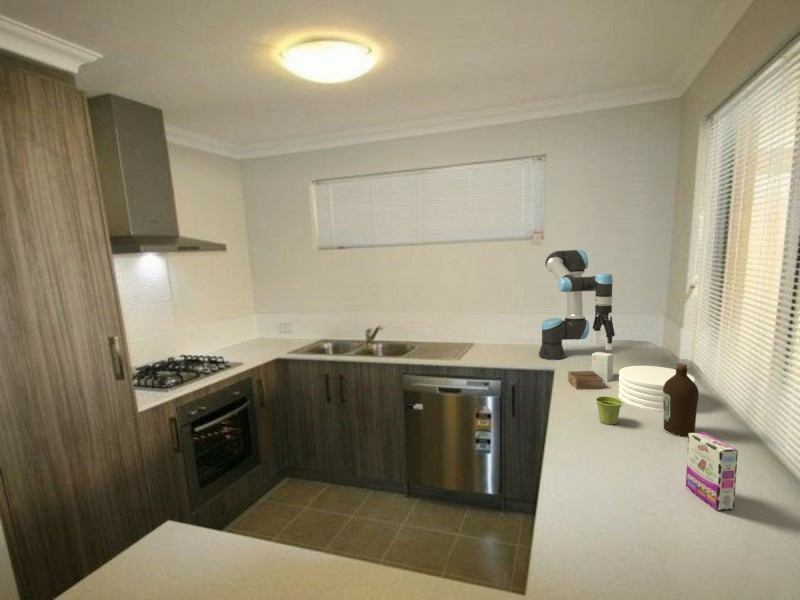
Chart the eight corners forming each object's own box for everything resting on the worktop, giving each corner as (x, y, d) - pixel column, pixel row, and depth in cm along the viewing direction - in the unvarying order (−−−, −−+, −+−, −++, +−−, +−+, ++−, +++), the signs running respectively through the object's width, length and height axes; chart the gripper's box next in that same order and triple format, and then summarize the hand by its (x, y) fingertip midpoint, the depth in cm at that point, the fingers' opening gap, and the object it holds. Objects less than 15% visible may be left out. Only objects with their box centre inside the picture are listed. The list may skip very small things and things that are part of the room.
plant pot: (619, 418, 165) (620, 397, 164) (624, 428, 157) (624, 406, 156) (594, 416, 169) (594, 395, 167) (596, 425, 160) (597, 403, 159)
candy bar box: (735, 510, 108) (739, 449, 106) (717, 511, 107) (721, 451, 105) (701, 485, 119) (704, 430, 117) (684, 487, 118) (687, 432, 116)
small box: (613, 379, 212) (613, 354, 210) (607, 381, 208) (607, 356, 206) (597, 375, 218) (597, 351, 216) (591, 378, 214) (591, 353, 212)
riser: (567, 381, 211) (567, 371, 211) (592, 380, 211) (592, 371, 210) (576, 389, 199) (576, 379, 198) (603, 389, 198) (603, 378, 198)
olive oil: (692, 427, 155) (695, 361, 152) (700, 439, 146) (704, 369, 142) (658, 423, 159) (661, 359, 156) (664, 435, 149) (667, 367, 146)
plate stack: (698, 397, 183) (700, 372, 182) (686, 418, 163) (688, 390, 162) (628, 385, 202) (629, 362, 201) (610, 402, 182) (610, 377, 181)
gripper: (586, 301, 221) (585, 341, 223) (606, 308, 196) (606, 352, 198) (600, 301, 220) (600, 340, 223) (623, 307, 196) (622, 352, 198)
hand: (602, 346), depth 211 cm, fingers open, 13 cm apart
